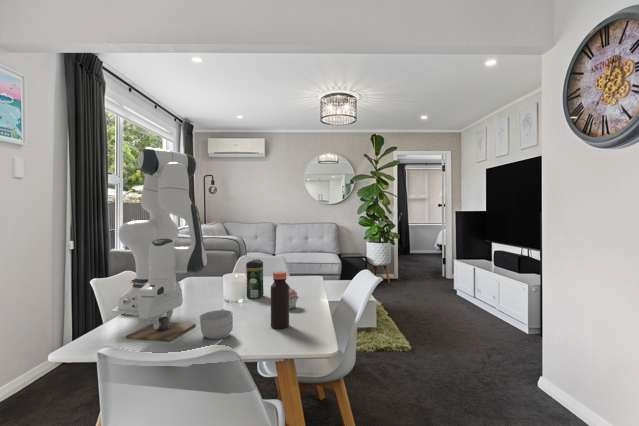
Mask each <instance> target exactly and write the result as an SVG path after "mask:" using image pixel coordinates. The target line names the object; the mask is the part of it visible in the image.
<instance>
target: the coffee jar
mask: <svg viewBox="0 0 639 426" xmlns="http://www.w3.org/2000/svg"><path fill="white" fill-rule="evenodd" d="M245 264H246V265H245V270H246V271H245V272H246V298H247V299H252V300H253V299H260V298H262V297H263V296H264V261H263V260H262V259H251V260H249V261H248V262H246V263H245Z"/></svg>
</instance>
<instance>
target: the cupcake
mask: <svg viewBox="0 0 639 426" xmlns="http://www.w3.org/2000/svg"><path fill="white" fill-rule="evenodd" d="M298 300H299V296H298V293H297V291H295V289H294V288H292V287H291V286H290V285H289V310H294V309H295V308H296V305H297V302H298Z"/></svg>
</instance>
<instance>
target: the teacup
mask: <svg viewBox="0 0 639 426" xmlns="http://www.w3.org/2000/svg"><path fill="white" fill-rule="evenodd" d="M233 314H234V313H233V310H230V309H225V308H220V309H217V310H211V311H206V312H204V313H201V315H199V322H200V324H199V325H201V327H200V331H201V334H202V336H203V337H204V338H206V339H208V340H209V339H210V340H219V339H221V340H222V339H225V338H227V337H228V336H229V334H231V332H232V331H233V326H234V323H233V322H234V320H233Z"/></svg>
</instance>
